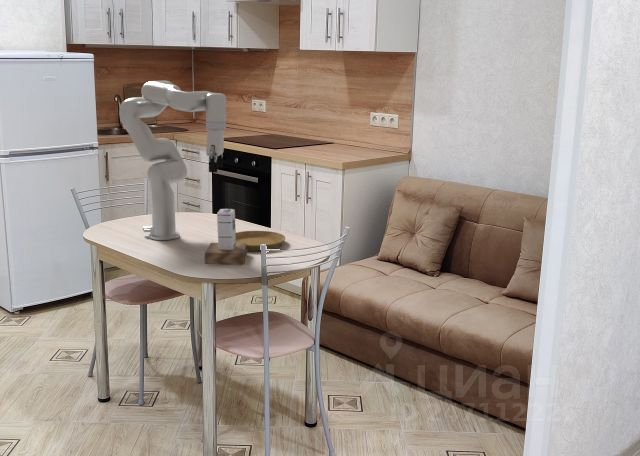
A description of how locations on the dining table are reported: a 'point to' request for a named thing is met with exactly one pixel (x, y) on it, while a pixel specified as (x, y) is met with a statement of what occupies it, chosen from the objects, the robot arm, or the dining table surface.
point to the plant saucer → (260, 239)
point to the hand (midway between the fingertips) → (215, 169)
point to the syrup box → (226, 229)
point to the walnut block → (226, 255)
